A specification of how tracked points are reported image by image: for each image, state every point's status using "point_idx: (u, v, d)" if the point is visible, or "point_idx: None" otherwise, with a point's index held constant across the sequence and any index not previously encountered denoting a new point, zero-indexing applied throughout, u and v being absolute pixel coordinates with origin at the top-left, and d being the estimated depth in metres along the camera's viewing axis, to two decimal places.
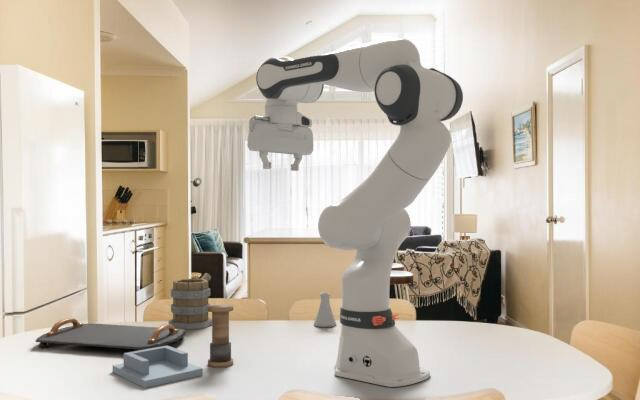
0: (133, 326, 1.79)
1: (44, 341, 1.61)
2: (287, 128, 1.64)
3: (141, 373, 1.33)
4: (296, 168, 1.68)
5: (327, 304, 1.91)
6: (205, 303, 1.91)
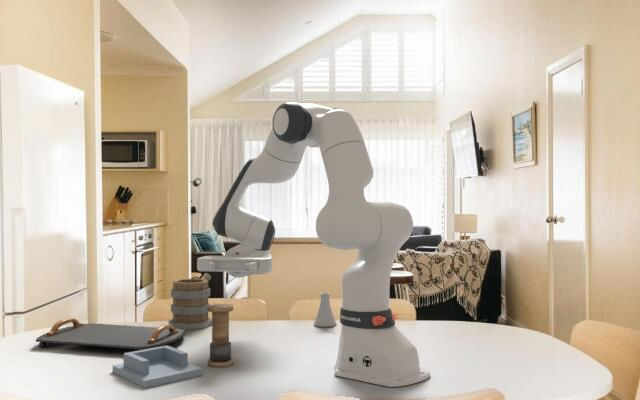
0: (133, 326, 1.79)
1: (44, 341, 1.61)
2: (236, 251, 1.70)
3: (141, 373, 1.33)
4: (248, 263, 1.60)
5: (327, 304, 1.91)
6: (205, 303, 1.91)
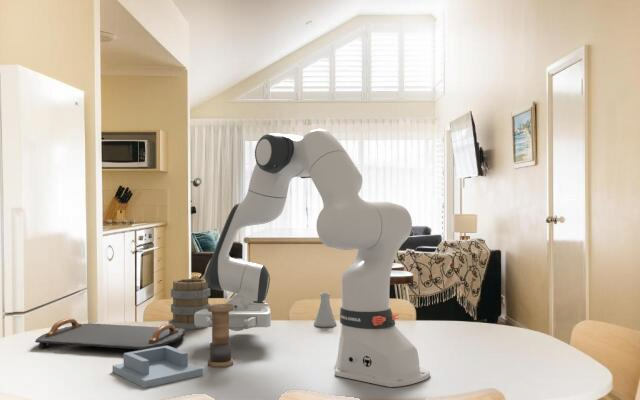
0: (132, 326, 1.79)
1: (44, 341, 1.61)
2: (234, 304, 1.67)
3: (141, 373, 1.33)
4: (246, 320, 1.56)
5: (327, 304, 1.91)
6: (205, 303, 1.91)
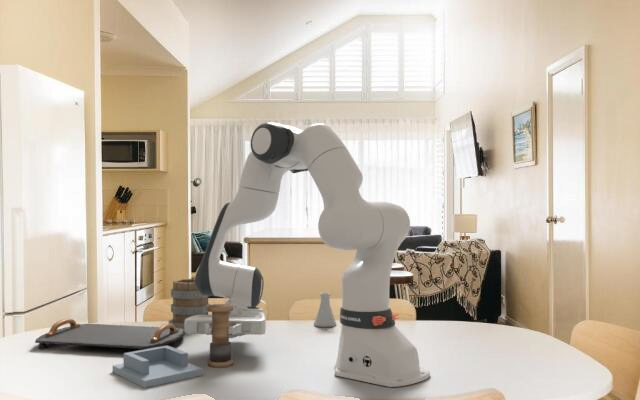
0: (131, 326, 1.79)
1: (44, 342, 1.61)
2: None
3: (141, 373, 1.33)
4: (230, 327, 1.47)
5: (327, 304, 1.91)
6: (205, 303, 1.91)
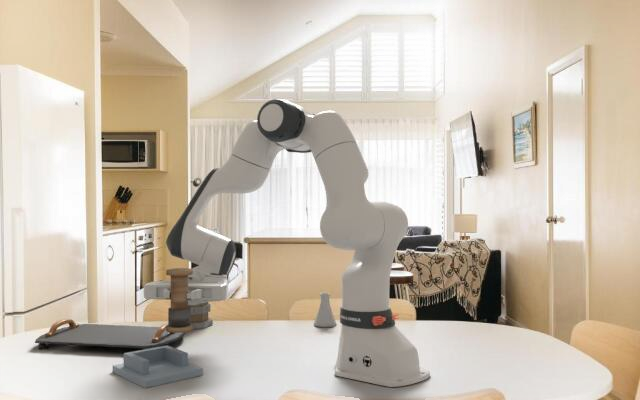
0: (130, 326, 1.79)
1: (44, 342, 1.60)
2: (189, 276, 1.53)
3: (141, 373, 1.33)
4: (189, 292, 1.42)
5: (327, 304, 1.91)
6: (205, 303, 1.91)
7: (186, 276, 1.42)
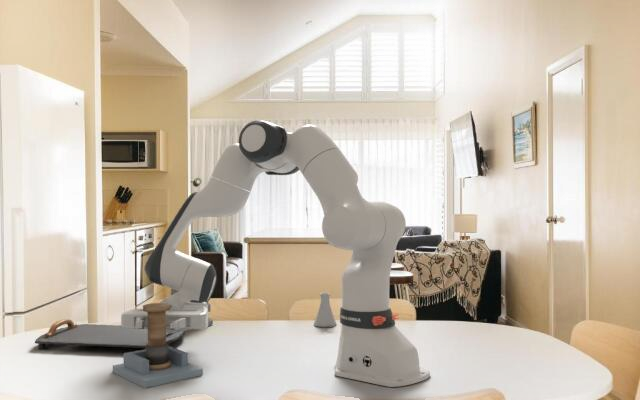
0: None
1: (44, 342, 1.60)
2: (168, 303, 1.49)
3: (141, 373, 1.33)
4: (173, 321, 1.39)
5: (327, 304, 1.91)
6: None
7: (163, 312, 1.39)
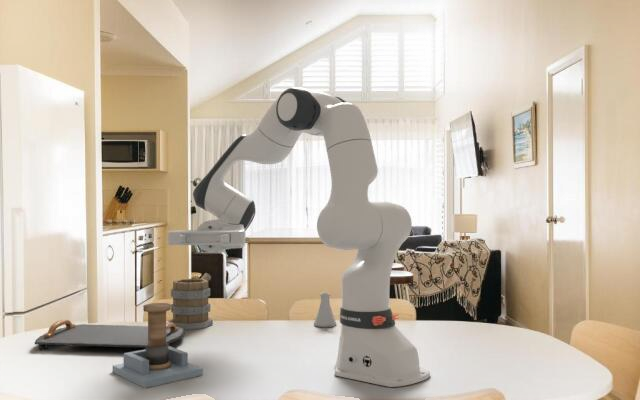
0: (128, 326, 1.79)
1: (45, 343, 1.59)
2: (209, 225, 1.65)
3: (141, 373, 1.33)
4: (219, 235, 1.55)
5: (327, 304, 1.91)
6: (205, 303, 1.91)
7: (164, 312, 1.39)
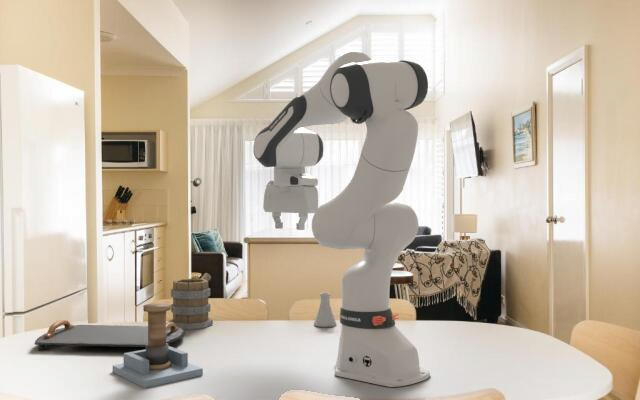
0: (127, 326, 1.79)
1: (45, 343, 1.59)
2: (280, 190, 1.70)
3: (141, 373, 1.33)
4: (297, 227, 1.68)
5: (327, 304, 1.91)
6: (205, 303, 1.91)
7: (164, 312, 1.39)
